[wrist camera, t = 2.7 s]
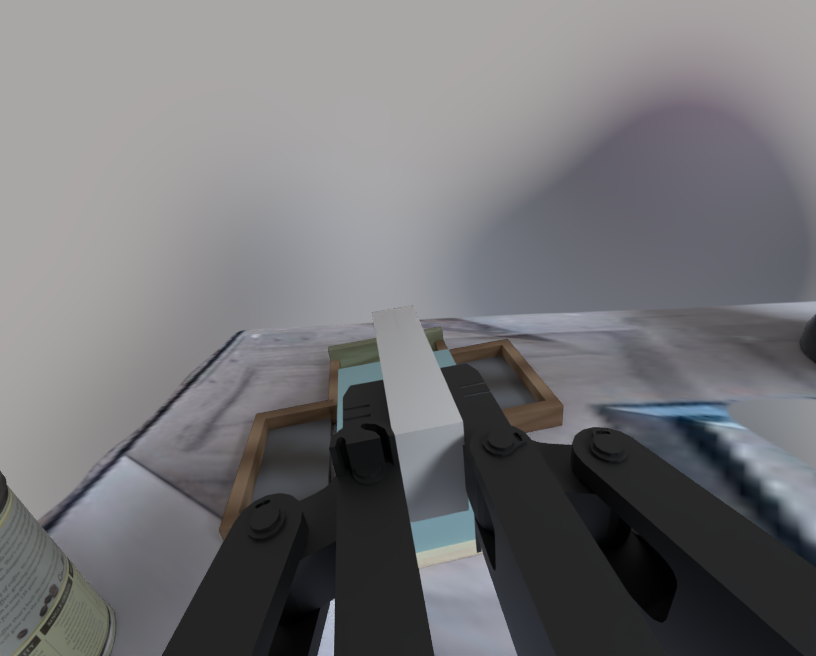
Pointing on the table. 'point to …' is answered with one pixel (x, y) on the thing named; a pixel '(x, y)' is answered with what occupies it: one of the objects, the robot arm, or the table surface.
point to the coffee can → (45, 593)
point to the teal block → (429, 530)
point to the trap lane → (312, 423)
